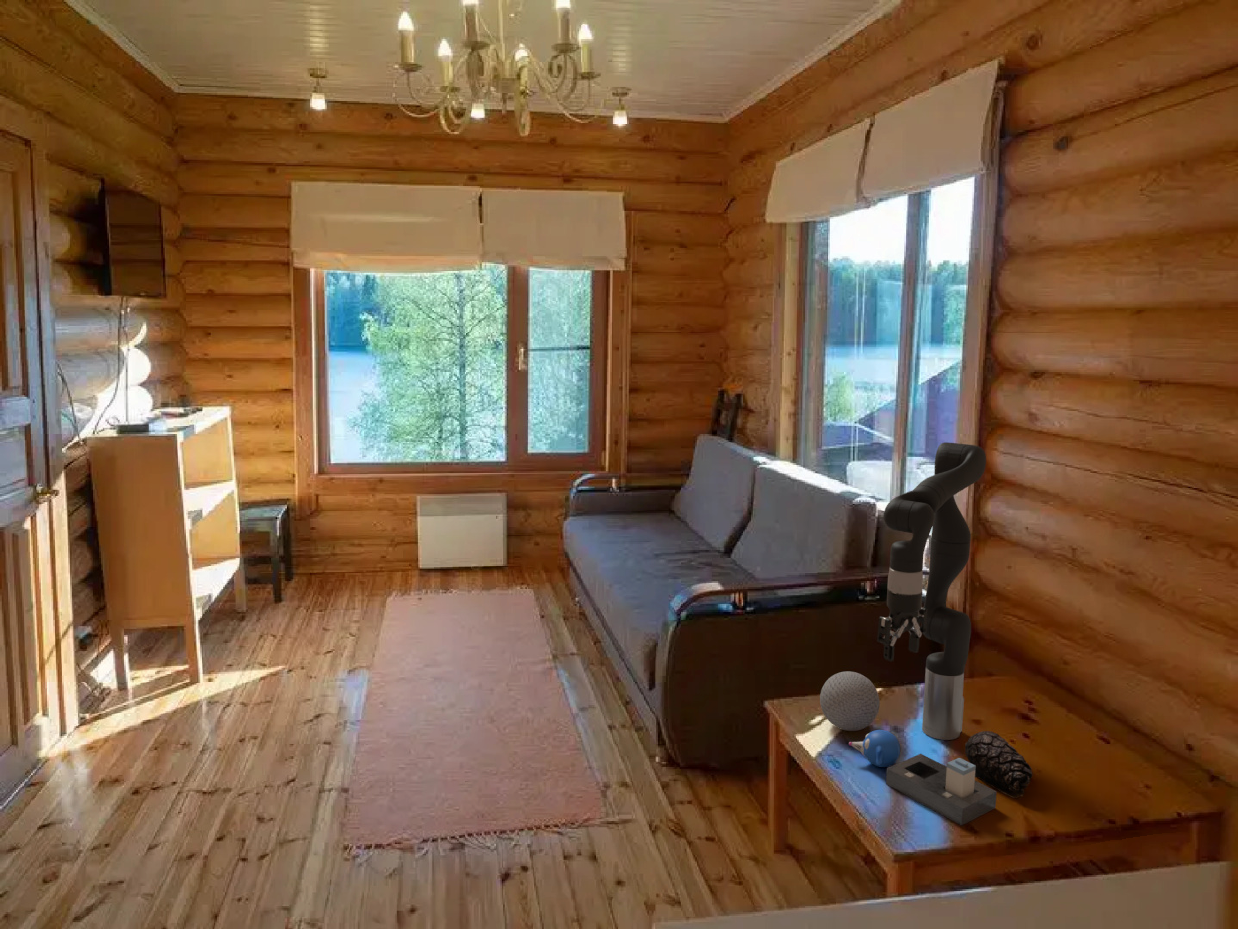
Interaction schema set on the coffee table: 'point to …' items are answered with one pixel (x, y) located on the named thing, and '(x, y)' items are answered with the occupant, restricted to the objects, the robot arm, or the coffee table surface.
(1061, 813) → the coffee table surface
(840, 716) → the decorative ball
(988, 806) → the panel
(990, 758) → the pine cone
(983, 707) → the coffee table surface
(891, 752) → the blue mole toy
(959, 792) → the plug
